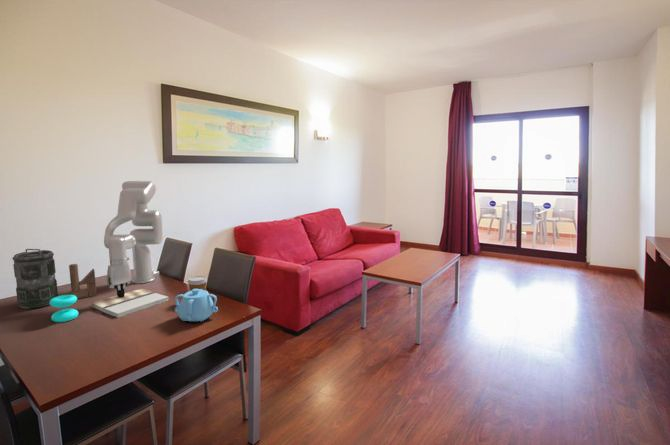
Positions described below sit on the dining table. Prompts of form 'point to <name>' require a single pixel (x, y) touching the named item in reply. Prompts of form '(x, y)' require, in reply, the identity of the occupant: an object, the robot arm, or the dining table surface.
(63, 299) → the donuts
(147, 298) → the board
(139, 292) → the plank
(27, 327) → the dining table surface
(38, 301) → the canister
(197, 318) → the decorative pot
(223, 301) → the dining table surface
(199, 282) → the glass of beer
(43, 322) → the dining table surface
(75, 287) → the wooden block
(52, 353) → the dining table surface
